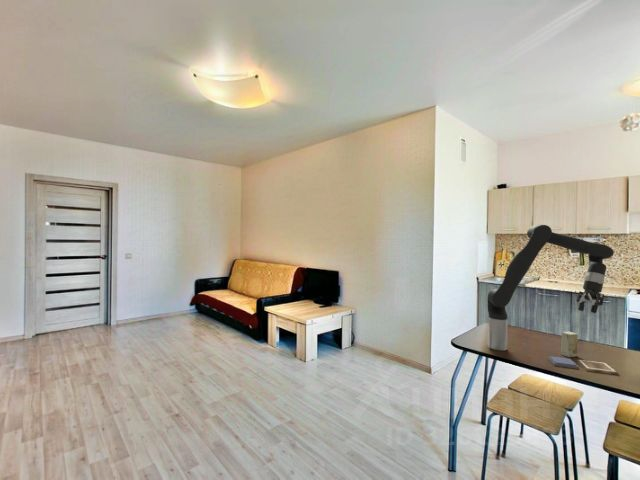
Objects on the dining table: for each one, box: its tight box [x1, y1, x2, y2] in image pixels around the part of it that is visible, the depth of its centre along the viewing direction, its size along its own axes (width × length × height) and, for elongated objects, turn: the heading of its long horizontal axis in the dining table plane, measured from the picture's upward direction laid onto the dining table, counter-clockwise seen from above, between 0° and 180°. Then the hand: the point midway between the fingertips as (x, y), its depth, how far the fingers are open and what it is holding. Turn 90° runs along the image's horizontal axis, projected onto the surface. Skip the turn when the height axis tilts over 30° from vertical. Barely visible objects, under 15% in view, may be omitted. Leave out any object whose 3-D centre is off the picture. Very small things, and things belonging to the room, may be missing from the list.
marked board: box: [575, 358, 619, 376], centre depth 151 cm, size 12×12×1 cm
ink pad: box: [547, 355, 580, 370], centre depth 156 cm, size 10×10×2 cm
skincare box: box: [560, 331, 579, 358], centre depth 166 cm, size 6×4×12 cm
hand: (586, 311), depth 163 cm, fingers open, 8 cm apart
